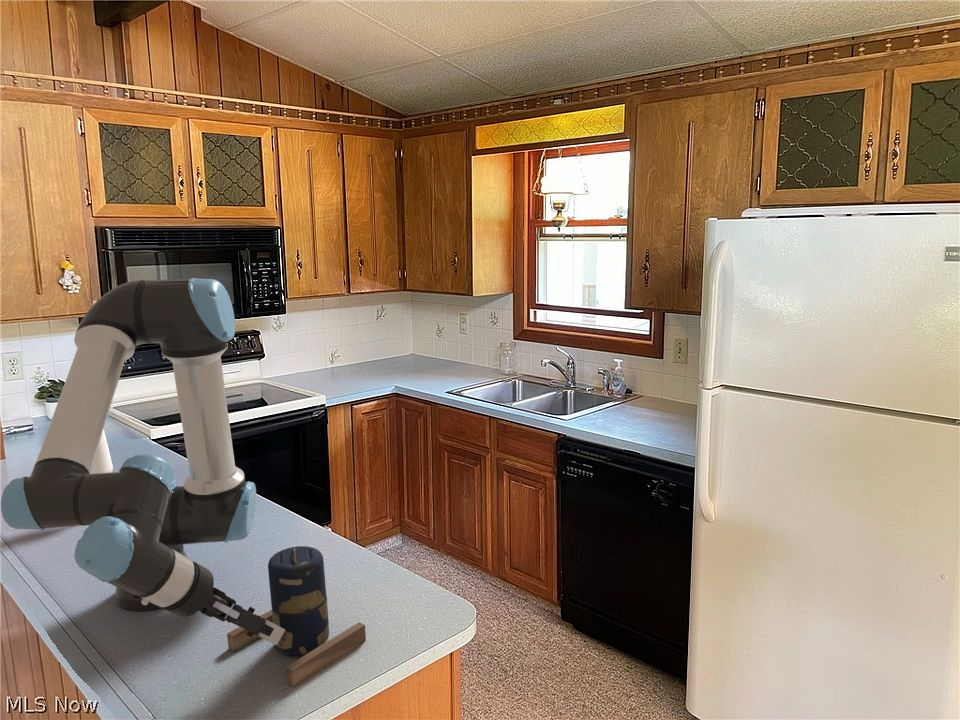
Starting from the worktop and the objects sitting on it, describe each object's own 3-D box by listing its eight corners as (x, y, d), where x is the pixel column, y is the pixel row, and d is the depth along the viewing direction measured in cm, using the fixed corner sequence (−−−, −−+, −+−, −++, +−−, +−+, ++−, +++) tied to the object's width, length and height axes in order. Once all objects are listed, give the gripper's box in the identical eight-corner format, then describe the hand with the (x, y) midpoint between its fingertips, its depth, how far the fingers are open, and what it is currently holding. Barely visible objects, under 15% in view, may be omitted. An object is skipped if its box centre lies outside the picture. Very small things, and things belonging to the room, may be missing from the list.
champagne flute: (124, 512, 186) (113, 425, 182) (109, 522, 180) (97, 432, 175) (100, 511, 187) (89, 425, 183) (84, 522, 181) (71, 432, 176)
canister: (334, 627, 130) (327, 537, 127) (324, 658, 121) (317, 562, 118) (282, 629, 130) (274, 539, 127) (268, 660, 121) (260, 564, 117)
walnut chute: (228, 648, 125) (227, 633, 124) (301, 608, 137) (299, 594, 136) (293, 687, 114) (292, 670, 113) (365, 640, 126) (364, 625, 125)
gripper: (138, 594, 106) (243, 643, 122) (184, 622, 98) (290, 671, 114) (169, 548, 109) (267, 603, 125) (216, 572, 101) (314, 627, 117)
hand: (278, 635), depth 120 cm, fingers closed
